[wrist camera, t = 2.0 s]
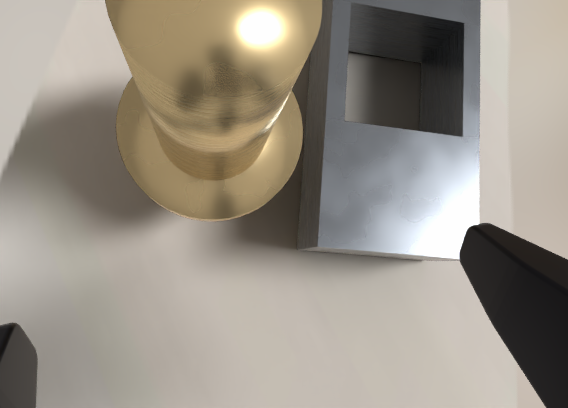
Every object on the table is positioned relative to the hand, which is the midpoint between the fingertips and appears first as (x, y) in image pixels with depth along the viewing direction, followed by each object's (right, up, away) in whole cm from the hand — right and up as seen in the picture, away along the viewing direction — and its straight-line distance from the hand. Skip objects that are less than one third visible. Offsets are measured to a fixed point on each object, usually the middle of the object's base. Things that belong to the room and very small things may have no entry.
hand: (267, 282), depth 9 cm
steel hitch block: (+5, +6, +14) cm, 16 cm away
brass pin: (-3, +4, +12) cm, 13 cm away
